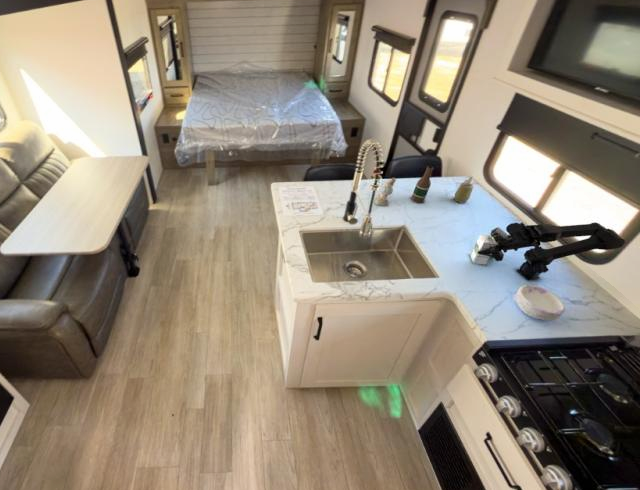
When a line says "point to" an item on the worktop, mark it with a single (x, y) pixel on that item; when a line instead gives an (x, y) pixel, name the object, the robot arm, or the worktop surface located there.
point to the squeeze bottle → (464, 191)
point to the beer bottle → (422, 186)
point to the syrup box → (480, 245)
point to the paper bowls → (539, 302)
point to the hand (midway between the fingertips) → (479, 248)
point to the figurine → (385, 192)
